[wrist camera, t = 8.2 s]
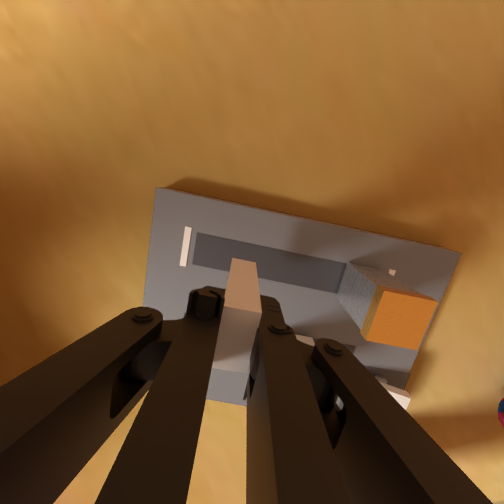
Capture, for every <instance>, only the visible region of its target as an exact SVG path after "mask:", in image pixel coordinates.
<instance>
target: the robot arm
mask: <svg viewBox="0 0 504 504" xmlns="http://www.w3.org/2000/svg"><path fill="white" fill-rule="evenodd" d="M249 364H250V372H249V377H248V381H247V385H246V389H245V393H244V397H243V400H246V397H247V473H246V504H493V503H492V502H491V501H490V500H489V499H488V498H487V497H486V496H485V495H484V494H483V493H482V491H481V490H480V489H479V488H478V487H477V486H476V485H475V484H474V483H473V482H472V481H471V480H470V479H469V478H468V476H467V475H466V474H465V473H464V472H463V471H462V470H461V469H460V468H459V467H458V466H457V465H456V464H455V463H454V462H453V460H452V459H451V458H450V457H449V456H448V455H447V454H446V453H445V452H444V451H443V450H442V449H441V448H440V447H439V445H438V444H437V443H436V442H435V441H434V440H433V439H432V438H431V437H430V436H429V435H428V434H427V433H426V432H425V431H424V429H423V428H422V427H421V426H420V425H419V424H418V423H417V422H416V421H415V420H414V419H413V418H412V417H411V416H410V414H409V413H408V412H407V411H406V410H405V409H404V408H403V407H402V406H401V405H400V404H399V403H398V402H397V401H396V400H395V398H394V397H393V396H392V395H391V394H390V393H389V392H388V391H387V390H386V389H385V388H384V387H383V386H382V385H381V383H380V382H379V381H378V380H377V379H376V378H375V377H374V376H373V375H372V374H371V373H370V372H369V371H368V370H367V369H366V367H365V366H364V365H363V364H362V363H361V362H360V361H359V360H358V359H357V358H356V357H355V356H354V355H353V354H352V352H351V351H350V350H349V349H348V348H346V347H345V346H344V345H342V344H341V343H339V342H338V341H336V340H333V339H327V338H320V339H318V340H316V342H315V345H314V346H311V345H309V344H306V343H303V342H301V341H299V340H297V338H296V335H295V332H294V331H293V329H292V328H291V327H290V326H289V325H287V324H285V321H284V317H283V314H282V310H281V307H280V303H279V302H278V301H277V300H276V299H275V298H274V297H269V296H264V295H260V292H259V284H258V276H257V267H256V262H251V261H246V260H241V259H236V258H232V262H231V267H230V272H229V277H228V282H227V287H226V289H223V288H218V287H212V286H205V287H203V288H199V289H194V290H192V291H191V292H190V293H189V298H188V304H187V310H186V314H185V316H184V318H181V319H177V320H163V314H162V313H161V312H160V311H158V310H156V309H154V308H149V307H137V308H132V309H129V310H127V311H125V312H123V313H122V314H120V315H118V316H117V317H115V318H113V319H112V320H110V321H108V322H107V323H105V324H103V325H102V326H100V327H99V328H97V329H95V330H94V331H92V332H90V333H89V334H87V335H85V336H84V337H82V338H80V339H79V340H77V341H75V342H74V343H72V344H71V345H69V346H67V347H66V348H64V349H62V350H61V351H59V352H57V353H56V354H54V355H52V356H51V357H49V358H47V359H46V360H44V361H43V362H41V363H39V364H38V365H36V366H34V367H33V368H31V369H29V370H28V371H26V372H24V373H23V374H21V375H19V376H18V377H16V378H14V379H13V380H11V381H10V382H8V383H6V384H5V385H3V386H1V387H0V504H53V503H54V502H55V501H56V499H57V498H58V497H59V496H60V495H61V493H62V492H63V491H64V490H65V489H66V488H67V486H68V485H69V484H70V483H71V482H72V480H73V479H74V478H75V477H76V476H77V474H78V473H79V472H80V471H81V470H82V468H83V467H84V466H85V465H86V464H87V463H88V461H89V460H90V459H91V458H92V457H93V455H94V454H95V453H96V452H97V451H98V449H99V448H100V447H101V446H102V445H103V443H104V442H105V441H106V440H107V439H108V437H109V436H110V435H111V434H112V433H113V432H114V430H115V429H116V428H117V427H118V426H119V424H120V423H121V422H122V421H123V420H124V418H125V417H126V416H127V415H128V414H129V412H130V411H131V410H132V409H133V408H134V407H135V405H136V404H137V403H138V402H139V401H140V399H141V398H142V397H143V396H144V395H145V393H146V392H147V391H148V390H149V391H148V393H147V395H146V397H145V399H144V402H143V404H142V406H141V408H140V410H139V412H138V414H137V416H136V418H135V420H134V422H133V425H132V427H131V429H130V431H129V433H128V435H127V437H126V439H125V441H124V443H123V445H122V447H121V450H120V452H119V454H118V456H117V458H116V460H115V462H114V464H113V466H112V468H111V470H110V472H109V475H108V477H107V479H106V481H105V483H104V485H103V487H102V489H101V491H100V493H99V495H98V497H97V500H96V502H95V504H186V500H187V495H188V490H189V485H190V479H191V474H192V469H193V464H194V458H195V453H196V448H197V443H198V437H199V432H200V427H201V422H202V416H203V411H204V406H205V401H206V395H207V390H208V385H209V380H210V375H211V369H212V368H215V369H221V370H227V371H233V372H239V373H245V374H247V372H248V368H249ZM338 396H339V398H340V399H341V401H342V402H343V404H344V405H343V408H342V410H341V409H340V408H339V406H338V405H337V403H336V402H337V399H338Z"/></svg>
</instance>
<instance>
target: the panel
mask: <svg viewBox="0 0 504 504" xmlns="http://www.w3.org/2000/svg"><path fill="white" fill-rule="evenodd" d="M461 254H462V253H459V252H456V251H452V250H449V249H446V248H443V247H439V246H434V245H429V244H425V243H420V242H415V241H411V240H406V239H402V238H397V237H392V236H388V235H383V234H378V233H374V232H369V231H365V230H360V229H355V228H351V227H346V226H341V225H337V224H332V223H328V222H323V221H318V220H314V219H309V218H304V217H300V216H295V215H291V214H286V213H281V212H277V211H272V210H267V209H263V208H258V207H254V206H249V205H244V204H240V203H235V202H230V201H226V200H221V199H217V198H212V197H207V196H203V195H198V194H193V193H189V192H184V191H180V190H175V189H170V188H166V187H156V191H155V200H154V209H153V218H152V227H151V236H150V245H149V254H148V263H147V271H146V280H145V289H144V298H143V307H149V308H154V309H156V310H158V311H160V312H161V313H162V314H163V320H177V319H181V318H184V316H185V314H186V310H187V304H188V298H189V293H190V292H191V291H192V290H194V289H199V288H203V287H205V286H212V287H218V288H223V289H226V287H227V282H228V277H229V272H230V267H231V262H232V258H236V259H241V260H246V261H251V262H256V267H257V276H258V284H259V292H260V295H264V296H269V297H274V298H275V299H276V300H277V301H278V302H279V303H280V307H281V310H282V314H283V317H284V321H285V324H287V325H289V326H290V327H291V328H292V329H293V331H294V332H295V334H296V335H301V336H307V337H312V338H313V340H314V343H315V342H316V340H318V339H320V338H327V339H333V340H336V341H338V342H339V343H341V344H342V345H344V346H345V347H346V348H348V349H349V350H350V351H351V352H352V354H353V355H354V356H355V357H356V358H357V359H358V360H359V361H360V362H361V363H362V364H363V365H364V366H365V367H366V369H367V370H368V371H369V372H370V373H371V374H372V375H373V376H374V377H375V375H381V376H383V377H384V378H386V380H387V381H388V382H387V385H390V386H393V387H396V388H399V389H402V390H404V388H405V385H406V383H407V381H408V379H409V376H410V374H409V372H410V370H411V368H412V365H413V363H414V361H415V359H416V356H417V354H418V352H419V349H420V347H421V345H422V343H423V340H424V338H425V336H426V334H427V331H428V329H429V327H430V324H431V322H432V320H433V318H434V315H435V313H436V311H437V308H438V306H439V304H440V302H441V299H442V297H443V295H444V293H445V290H446V288H447V286H448V283H449V281H450V279H451V277H452V274H453V272H454V270H455V267H456V265H457V263H458V261H459V258H460V256H461ZM347 262H348V263H353V264H358V265H363V266H367V267H372V268H377V269H382V270H385V271H387V272H388V273H390V274H391V275H393V276H394V277H396V278H398V279H399V280H401V281H402V282H404V283H405V284H407V285H408V286H410V287H412V288H413V289H415V290H416V291H418V292H419V293H421V294H423V295H427V296H430V297H431V298H433V299H435V300H436V301H438V304H437V307H436V309H435V311H434V314H433V316H432V318H431V320H430V323H429V325H428V327H427V330H426V332H425V334H424V337H423V339H422V341H421V343H420V346H419V348H418V350H412V349H407V348H402V347H397V346H392V345H387V344H382V343H377V342H371V341H366V340H365V339H364V337H363V336H362V335H361V333H360V331H361V329H360V328H359V327H358V325H357V324H356V323H355V321H354V320H353V319H352V317H351V316H350V315H349V313H348V312H347V311H346V309H345V308H344V307H343V305H342V304H341V303H340V301H339V300H338V299H337V297H336V296H337V293H338V290H339V287H340V284H341V281H342V278H343V275H344V272H345V268H346V265H347ZM249 372H250V364H249V368H248V372H247V374H245V373H239V372H233V371H227V370H221V369H215V368H212V369H211V375H210V380H209V385H208V390H207V395H206V399H209V400H214V401H220V402H225V403H231V404H237V405H242V406H247V397H246V400H243V397H244V393H245V389H246V385H247V381H248V377H249ZM336 403H337V405H338V406H339V408H340V409H341V410H342V408H343V405H344V404H343V402H342V401H341V399H340V398H339V396H338V399H337V402H336Z"/></svg>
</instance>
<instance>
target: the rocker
mask: <svg viewBox="0 0 504 504" xmlns="http://www.w3.org/2000/svg"><path fill="white" fill-rule="evenodd" d="M375 378H376V379H377V380H378V381H379V382H380V383H381V385H382V386H383V387H384V388H385V389H386V390H387V391H388V392H389V393H390V394H391V395H392V396H393V397H394V398H395V400H396V401H397V402H398V403H399V404H400V405H401V406H402V407H403V408H404V409H405V410H406V409H407V406H408V404H409V402H410V400H411V398H410V395H409V393H408V392H407V391H404V390H402V389H399V388H396V387H393V386H390V385H387V382H388V381H387V380H386V378H384V377H383V376H381V375H375Z"/></svg>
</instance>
